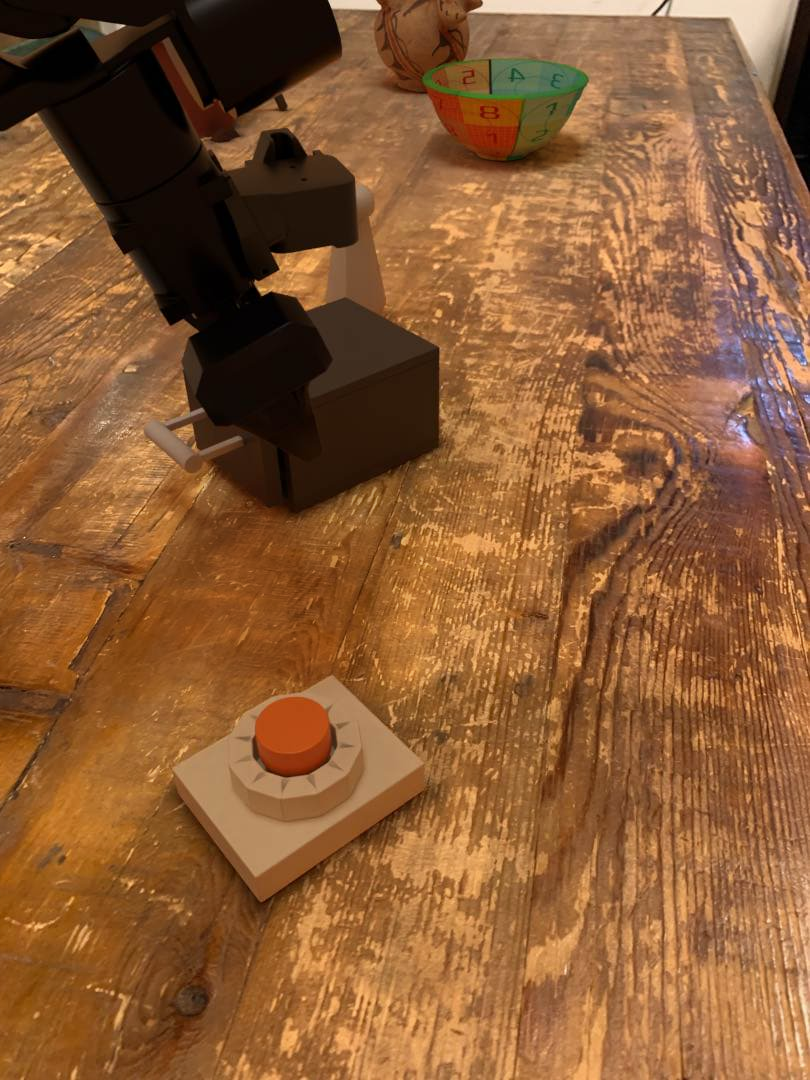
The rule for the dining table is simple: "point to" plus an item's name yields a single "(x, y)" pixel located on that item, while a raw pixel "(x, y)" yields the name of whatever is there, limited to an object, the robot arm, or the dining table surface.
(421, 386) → the drawer cabinet
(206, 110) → the potted plant
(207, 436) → the dark brown drawer
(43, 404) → the dining table surface
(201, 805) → the control block
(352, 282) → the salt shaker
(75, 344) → the dining table surface
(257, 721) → the button
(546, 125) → the bowl
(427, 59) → the ceramic vessel
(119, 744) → the dining table surface
